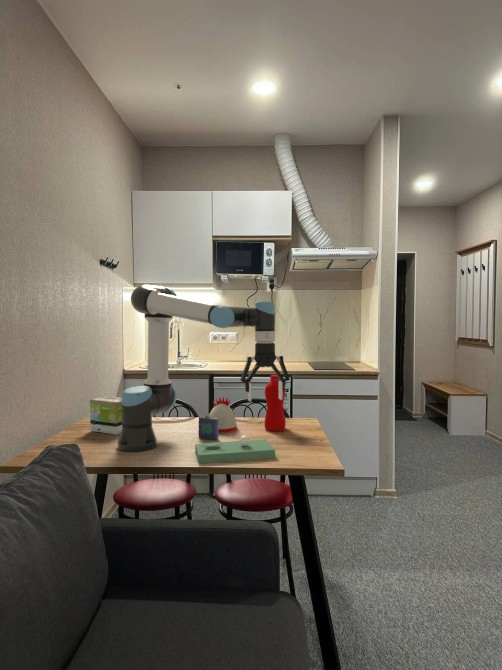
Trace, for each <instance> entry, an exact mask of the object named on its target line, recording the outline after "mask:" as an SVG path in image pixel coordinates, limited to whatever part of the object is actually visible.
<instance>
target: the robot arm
mask: <svg viewBox="0 0 502 670" xmlns="http://www.w3.org/2000/svg"><path fill="white" fill-rule="evenodd" d="M130 295H131V296H130V302H131V306H132V307H133V309H134V310H135V311H137V312H139V313H141V314H144V320H146V321H147V325H148V326H147V329H148V330H147V378H146V379H145V380H144V381H143V385H136V386H131V387H127V388H126V389H124V390H123V391H122V393H121V398H122V399H121V404H122V430H121V433H120V434H119V437H118V441H117V450H119V451H122V452H129V453H134V452H135V453H136V452H144V451H148V450H152V449H154V448H156V447H157V445H158V443H157V441H158V440H157V436H156V434H155V431H154V428H153V417H154V416H156V415H159V414H163V413H166V412H167V411H169V410H172V408H173V407H174V406H175V404H176V402H177V396H178V395H177V391H176V390H175V387H174V386H173V385H172V380H170V379H169V346H170V345H169V343H170V342H169V339H170V337H169V336H170V322H171V320H173V317H176V318H180V319H183V320H184V319H185V320H189V321H195V322H198V323H204V324H208V325H213V326H215V327H216V328H222V329H226V328H238V327H240V328H241V327H253V328H254V341H255V342H256V343H255V344H254V355H253V356H249V355H247V356H246V363H245V365H244V368H243V371H242V373H241V377H240V382H242V383H244V385H245V386H244V388H245V392H246V393H247V401H248V402H252V383H251V381H252V379H253V378H254V376H255V375H256V373H257V372H258V370H259V369H261V368H266V367H267V368H271V369H272V370H273V371H274V373H275V375H277V376H278V378H279V379H280V382H279V399H280V400H283V395H282V391H283V390H285V391H286V382H287V381H290V380H291V379H290V375H289V373H288V370H287V367H286V365H285V361H284V356H283V355H282V354H281V355H280V354H279V355H276V344H275V341H276V338H275V337H276V328H275V327H276V307H275V306H276V305H275V302H273V301H269V300H268V301H266V300H265V301H263V300H262V301H256V302H254V306H226V305H222V304H221V305H220V304H215V303H209V302H205V301H200V300H197V299H195V300H194V299H190V298H185V297H180V296H177V294H176V292H175V291H174V290H173V289H171V288H170V287H167V286H164V285H151V284H142V285H138V286H137V287H136V288H134V290H133V291H132V293H131V294H130ZM254 361H255V363H254V366H253V368H252V369H251V371H250V372H249V370H250V367H251V364H252V363H253V362H254ZM275 361H277V362H278V363H279V366H280V369H281V371H282V374H283V375H282V374H281V372H280V371H279V369H278V368H277V366H276V364H275ZM247 375H248V376H247Z"/></svg>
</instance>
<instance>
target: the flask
mask: <svg viewBox="0 0 502 670" xmlns="http://www.w3.org/2000/svg"><path fill="white" fill-rule="evenodd" d="M209 415H210V413H206V415H202V416H199V417H198V439H200V440H201V439H202V440H211V441H214V440H215V441H218V440H219V433H218V418H210V416H209Z"/></svg>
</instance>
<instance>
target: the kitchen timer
mask: <svg viewBox="0 0 502 670" xmlns="http://www.w3.org/2000/svg"><path fill="white" fill-rule="evenodd" d="M221 398H222V399H221ZM228 399H229V398H228V396H227V397H226V399H225V398H224V396H222V397H221V396H219V398H218V399H217V398H216V399H215V401H216V403H215V401H214V400H212V402H213V408H212V409H211V411H210V413H209V414H210V415H209V416H210V418H218V434H219V433H220V434H221V433H222V434H224V433H230V432H234V431H237V429H238V427H237V426H238V424H237V419H236V417H235V412H234V411H233V410H232V408H231V407H230V406H229V405H230V404H231V400H232V399H230V400H229V401H228Z"/></svg>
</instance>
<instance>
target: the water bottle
mask: <svg viewBox="0 0 502 670" xmlns="http://www.w3.org/2000/svg"><path fill="white" fill-rule="evenodd" d="M269 379H270V380H269V382H268V383H267V384H266V385H265V387H264V396H265V402H266V411H265V417H264V429H265V430H266V431H267V432H283V431H284V430H285V429H286V415H285V411H284V401H285V396H286V389H285V390H283V391H282V395H283V400H280V399H279V382H281V380H280V379H279V378H278V376H277V375H276V374H271V375H270V378H269Z"/></svg>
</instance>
